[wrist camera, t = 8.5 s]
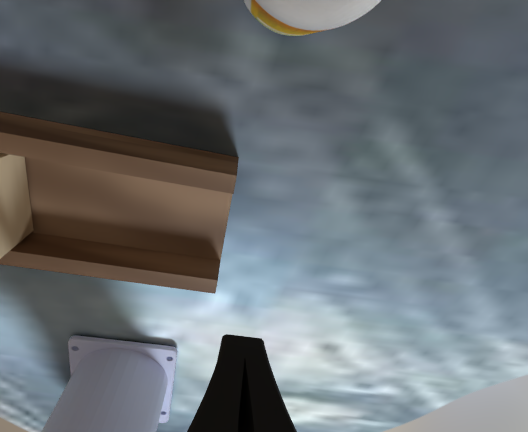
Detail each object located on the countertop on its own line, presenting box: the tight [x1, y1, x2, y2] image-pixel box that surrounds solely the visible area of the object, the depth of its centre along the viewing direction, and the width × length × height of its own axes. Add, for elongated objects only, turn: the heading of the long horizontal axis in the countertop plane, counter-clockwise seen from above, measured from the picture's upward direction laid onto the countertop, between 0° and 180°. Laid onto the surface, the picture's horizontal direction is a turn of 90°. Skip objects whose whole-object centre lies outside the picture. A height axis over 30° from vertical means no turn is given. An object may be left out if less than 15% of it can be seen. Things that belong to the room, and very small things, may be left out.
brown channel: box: [0, 112, 239, 293], centre depth 18 cm, size 8×18×3 cm, turn 78°
